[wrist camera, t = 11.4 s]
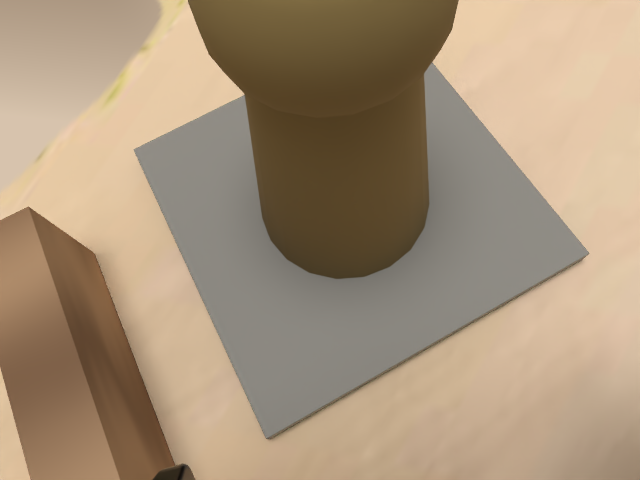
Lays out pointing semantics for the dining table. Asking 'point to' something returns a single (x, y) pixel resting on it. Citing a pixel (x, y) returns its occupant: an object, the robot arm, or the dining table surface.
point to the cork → (334, 120)
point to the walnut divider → (70, 362)
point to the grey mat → (350, 293)
